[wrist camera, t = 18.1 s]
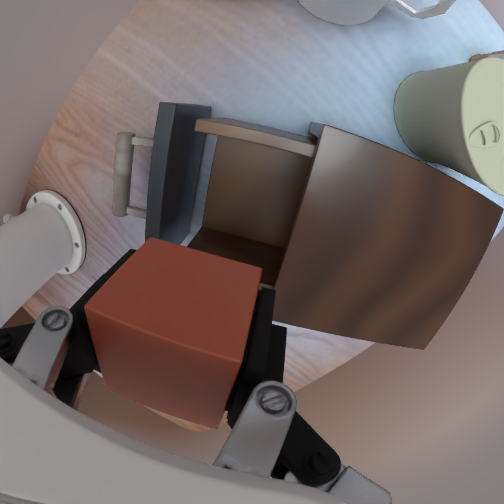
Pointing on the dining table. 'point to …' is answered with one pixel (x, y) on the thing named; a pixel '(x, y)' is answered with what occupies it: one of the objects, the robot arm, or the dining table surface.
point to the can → (457, 118)
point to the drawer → (219, 185)
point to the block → (174, 329)
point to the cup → (365, 9)
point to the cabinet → (379, 243)
